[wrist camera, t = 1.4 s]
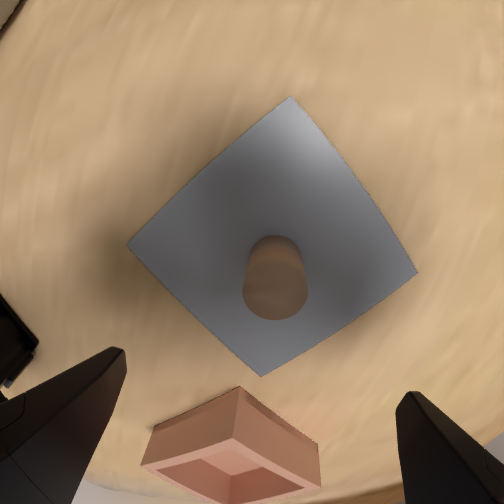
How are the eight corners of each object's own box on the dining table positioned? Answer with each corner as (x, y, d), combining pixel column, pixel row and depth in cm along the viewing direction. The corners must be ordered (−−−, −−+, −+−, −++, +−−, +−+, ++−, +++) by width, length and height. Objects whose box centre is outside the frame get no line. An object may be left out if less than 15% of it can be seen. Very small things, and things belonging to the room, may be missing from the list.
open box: (154, 425, 25) (139, 465, 20) (239, 386, 22) (232, 437, 17) (232, 473, 27) (227, 510, 22) (317, 444, 24) (321, 487, 19)
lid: (131, 241, 19) (94, 271, 14) (289, 97, 15) (296, 81, 11) (261, 369, 22) (257, 418, 17) (413, 267, 18) (445, 303, 14)
